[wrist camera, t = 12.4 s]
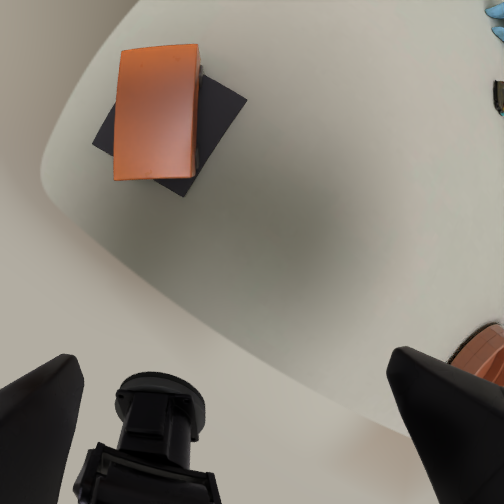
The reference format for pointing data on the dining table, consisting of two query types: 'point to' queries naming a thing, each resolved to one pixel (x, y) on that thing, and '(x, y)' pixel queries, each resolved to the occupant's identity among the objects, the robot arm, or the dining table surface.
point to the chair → (497, 12)
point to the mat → (208, 127)
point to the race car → (499, 96)
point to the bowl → (484, 355)
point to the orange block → (157, 113)
